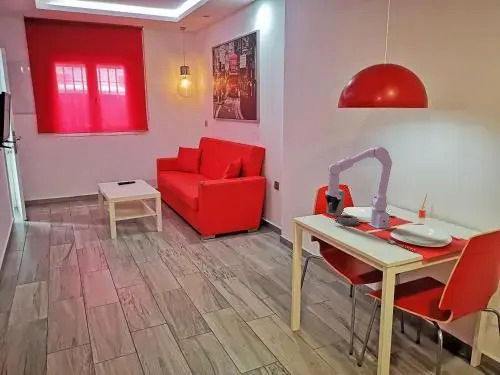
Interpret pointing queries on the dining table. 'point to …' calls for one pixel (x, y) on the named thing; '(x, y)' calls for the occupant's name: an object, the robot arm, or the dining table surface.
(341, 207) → the skincare box
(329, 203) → the cap
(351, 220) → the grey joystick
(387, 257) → the dining table surface
